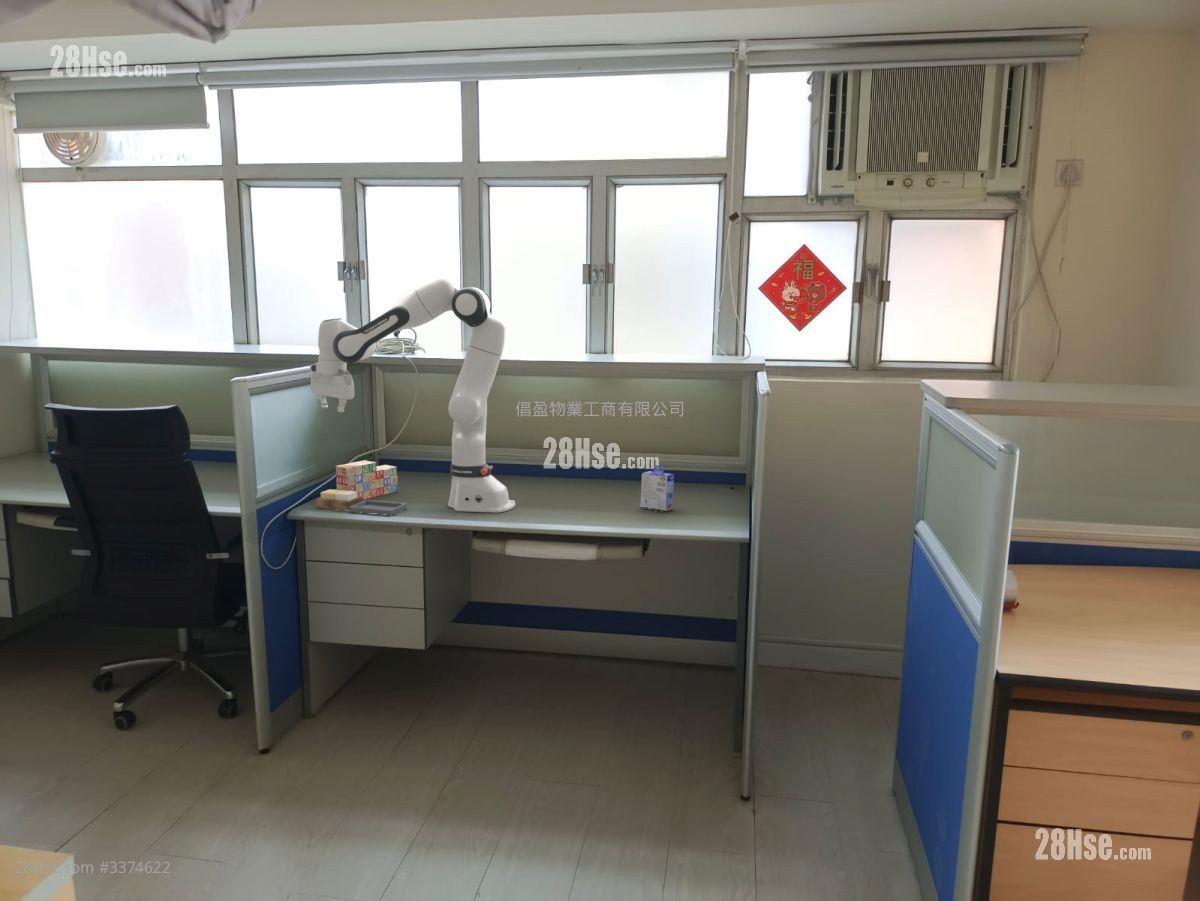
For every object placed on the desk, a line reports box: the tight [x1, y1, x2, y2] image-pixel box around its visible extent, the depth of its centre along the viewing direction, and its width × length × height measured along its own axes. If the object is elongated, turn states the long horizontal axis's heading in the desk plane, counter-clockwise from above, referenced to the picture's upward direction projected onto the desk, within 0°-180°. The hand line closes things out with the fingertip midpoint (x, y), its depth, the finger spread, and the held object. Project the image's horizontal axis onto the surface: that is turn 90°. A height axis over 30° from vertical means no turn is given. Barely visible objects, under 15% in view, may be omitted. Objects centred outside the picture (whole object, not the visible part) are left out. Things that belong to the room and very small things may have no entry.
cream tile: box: [335, 490, 357, 501], centre depth 265 cm, size 5×5×2 cm
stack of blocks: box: [335, 459, 399, 500], centre depth 281 cm, size 21×6×12 cm, turn 144°
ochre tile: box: [320, 488, 343, 500], centre depth 267 cm, size 5×5×2 cm
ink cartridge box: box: [640, 464, 675, 510], centre depth 271 cm, size 10×6×14 cm, turn 59°
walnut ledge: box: [315, 496, 363, 511], centre depth 267 cm, size 12×8×3 cm, turn 75°
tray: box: [348, 499, 408, 516], centre depth 263 cm, size 15×10×2 cm, turn 75°
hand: (332, 410), depth 268 cm, fingers open, 8 cm apart
